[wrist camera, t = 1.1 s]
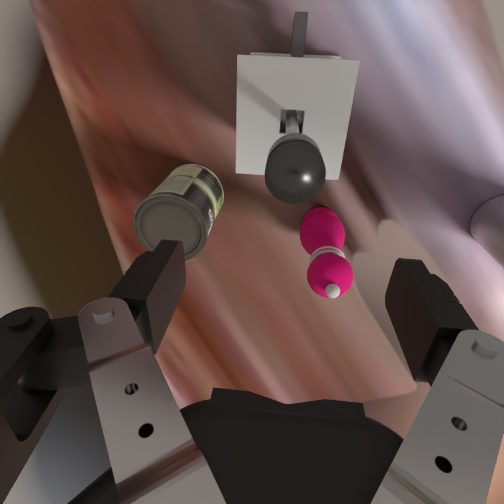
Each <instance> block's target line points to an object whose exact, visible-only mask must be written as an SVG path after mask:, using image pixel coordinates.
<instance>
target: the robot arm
mask: <svg viewBox="0 0 504 504" xmlns="http://www.w3.org/2000/svg"><path fill="white" fill-rule="evenodd" d="M470 232H471V235H472V236H473V238H474V239H475V240H476V241H477V242H478V243H479V244H480V245H481V246H482V247H483V248H484V249H485V250H486V251H487V252H488V253H489V254H490V255H491V256H492V257H493V258H494V259H495V260H496V261H497V262H498V263H499V264H500V265H501V266H502V267H503V268H504V195H501V196H498V197H495V198H493V199H491V200H489V201H487V202H486V203H484V204H483V205H482V206H481V207H480V208H478V210H477V211H476V212H475V213H474V215H473V217H472V219H471V222H470ZM185 282H186V269H185V258H184V247H183V242H182V241H178V240H165V239H162V240H161V241H160V242H159V244H158V245H157V247H156V248H155V250H154V251H146V252H145V253H143V254H142V255H140V256H138V257H137V258H136V259H135V261H134V262H133V263H132V265H131V266H130V268H129V269H128V270H127V271H126V273H125V275H124V276H123V277H122V278H121V280H120V281H119V282H118V284H117V285H116V287H115V288H114V289H113V291H112V292H111V293H110V295H109V296H108V297H107V298H103V299H99V300H96V301H93V302H91V303H90V304H88V305H86V306H85V307H84V308H83V309H82V310H81V311H80V313H79V315H78V316H72V317H65V318H58V319H50V317H49V315H48V312H47V311H46V310H45V309H43V308H40V307H26V308H21V309H18V310H15V311H12V312H10V313H8V314H6V315H5V316H3V317H2V318H0V504H3V502H4V500H5V499H6V497H7V495H8V493H9V491H10V490H11V488H12V487H13V485H14V483H15V481H16V480H17V478H18V476H19V474H20V473H21V471H22V469H23V468H24V466H25V464H26V462H27V461H28V459H29V457H30V455H31V454H32V452H33V450H34V448H35V447H36V445H37V443H38V441H39V440H40V438H41V436H42V435H43V433H44V431H45V429H46V428H47V426H48V424H49V422H50V421H51V419H52V417H53V416H54V414H55V412H56V410H57V409H58V407H59V405H60V403H61V402H62V400H63V398H64V396H65V395H66V393H67V391H68V390H69V388H70V387H75V386H81V385H86V384H92V387H93V391H94V395H95V400H96V404H97V408H98V412H99V416H100V420H101V424H102V429H103V433H104V437H105V441H106V446H107V450H108V454H109V458H110V462H111V467H110V468H109V469H107V470H106V471H105V472H104V473H103V474H101V475H100V476H99V477H98V478H97V479H96V480H95V481H93V482H92V483H91V484H90V485H89V486H87V487H86V488H85V489H84V490H83V491H82V492H80V493H79V494H78V495H77V496H76V497H75V498H73V499H72V500H71V501H70V502H69V503H68V504H485V503H486V499H487V496H488V492H489V488H490V484H491V480H492V476H493V472H494V468H495V464H496V460H497V456H498V453H499V449H500V445H501V441H502V437H503V433H504V342H503V341H501V340H500V339H498V338H497V337H495V336H493V335H491V334H488V333H486V332H483V331H479V329H478V328H477V326H476V325H475V323H474V322H473V320H472V319H471V318H470V316H469V315H468V313H467V312H466V310H465V309H464V307H463V306H462V304H460V302H459V300H458V299H457V297H456V296H454V293H453V291H452V290H451V288H450V287H449V286H448V284H447V283H446V282H444V281H443V280H442V279H441V278H439V277H438V276H437V275H435V274H430V272H429V271H428V269H427V268H426V266H425V265H424V263H423V262H422V260H417V259H404V258H399V259H397V260H396V262H395V265H394V268H393V271H392V275H391V278H390V281H389V284H388V287H387V290H386V295H385V305H386V309H387V311H388V314H389V317H390V319H391V322H392V324H393V327H394V329H395V332H396V335H397V337H398V340H399V343H400V345H401V348H402V350H403V353H404V356H405V358H406V361H407V364H408V366H409V369H410V371H411V374H412V377H413V379H414V381H418V382H428V383H429V384H430V386H431V388H430V390H429V392H428V394H427V396H426V398H425V400H424V402H423V404H422V406H421V408H420V410H419V411H418V413H417V415H416V417H415V419H414V421H413V423H412V425H411V427H410V429H409V431H408V433H407V435H406V436H405V438H404V439H403V438H402V437H401V436H399V435H398V434H397V433H395V432H394V431H393V430H391V429H390V428H389V427H387V426H385V425H383V424H382V423H380V422H378V421H376V420H374V419H372V418H369V417H366V416H365V412H364V407H363V403H356V402H347V401H337V400H327V399H324V400H316V401H309V402H302V403H295V404H284V403H281V402H278V401H275V400H272V399H270V398H267V397H264V396H261V395H258V394H255V393H253V392H250V391H241V390H232V389H222V388H213V391H212V395H211V399H209V400H203V401H200V402H196V403H193V404H191V405H188V406H186V407H184V408H182V409H180V410H179V408H178V406H177V404H176V401H175V399H174V397H173V395H172V393H171V390H170V388H169V386H168V384H167V382H166V380H165V377H164V375H163V373H162V371H161V369H160V367H159V364H158V362H157V360H156V358H155V356H154V354H155V355H156V352H157V350H158V348H159V346H160V343H161V341H162V339H163V336H164V334H165V332H166V330H167V327H168V325H169V323H170V320H171V318H172V316H173V313H174V311H175V309H176V307H177V304H178V302H179V300H180V297H181V295H182V293H183V291H184V288H185Z"/></svg>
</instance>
